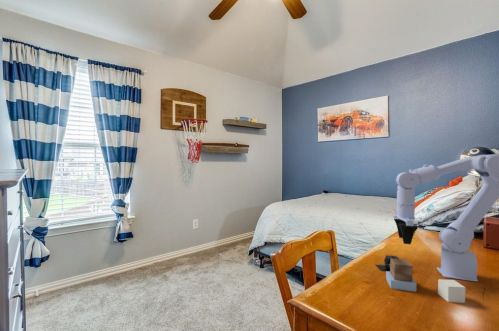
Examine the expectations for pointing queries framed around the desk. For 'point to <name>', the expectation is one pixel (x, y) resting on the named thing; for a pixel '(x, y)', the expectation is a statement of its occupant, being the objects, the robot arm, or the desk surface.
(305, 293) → the desk surface
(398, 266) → the walnut cube
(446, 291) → the cream cube
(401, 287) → the blue slab
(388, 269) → the black rectangular box
